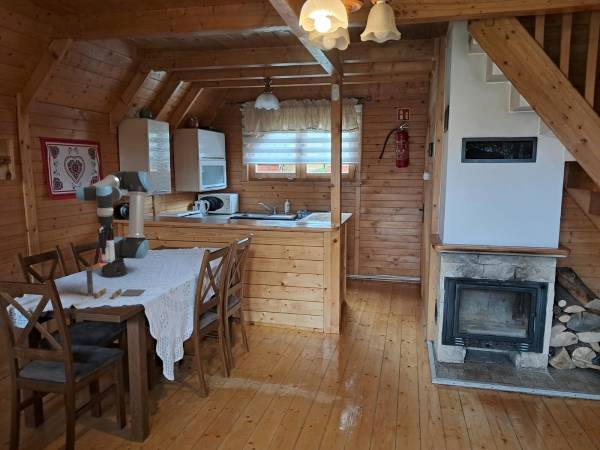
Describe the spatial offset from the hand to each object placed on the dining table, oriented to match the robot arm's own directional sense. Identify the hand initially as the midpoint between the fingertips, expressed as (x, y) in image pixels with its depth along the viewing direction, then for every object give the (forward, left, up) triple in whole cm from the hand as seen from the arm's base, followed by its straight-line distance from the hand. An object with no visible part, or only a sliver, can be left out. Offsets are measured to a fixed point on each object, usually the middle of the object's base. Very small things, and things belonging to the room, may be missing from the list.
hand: (107, 258), depth 238 cm
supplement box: (0, 0, -2) cm, 2 cm away
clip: (-6, -9, -7) cm, 13 cm away
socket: (0, -3, -21) cm, 21 cm away
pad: (-5, +11, -21) cm, 24 cm away
